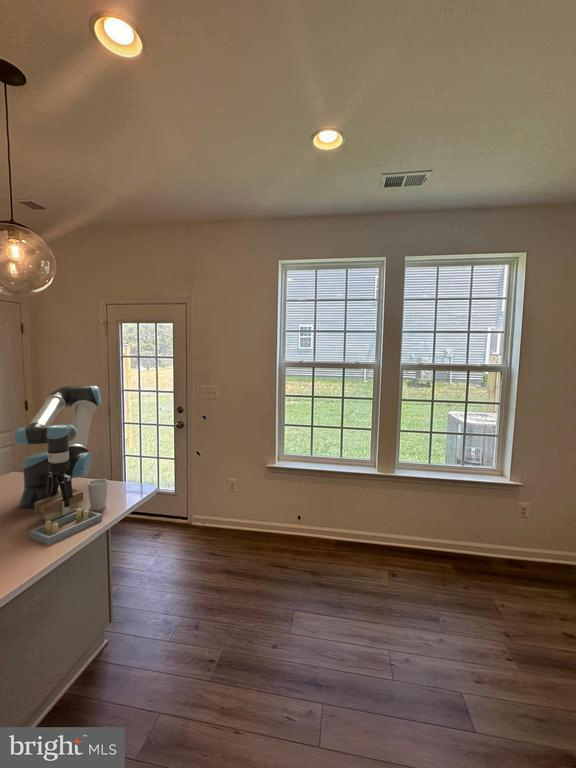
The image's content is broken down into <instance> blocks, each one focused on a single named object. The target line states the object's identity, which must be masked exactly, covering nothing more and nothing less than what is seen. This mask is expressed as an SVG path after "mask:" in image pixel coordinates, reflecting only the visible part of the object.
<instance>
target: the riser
mask: <svg viewBox="0 0 576 768" xmlns="http://www.w3.org/2000/svg"><path fill="white" fill-rule="evenodd" d="M77 506H78V502H77V503H75V504H72V505H70V506H69V511H70V513H74V512H76V509H78V507H77ZM41 515H42V520H43V521H45V522H46V521H49V520H50V521H51V522H52V520H53V521H54V520H57V519H59V518H62V517H64V515H62V509H59V510H56V511H54V512H51V513H49V514H46V515H44V514H41Z"/></svg>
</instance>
